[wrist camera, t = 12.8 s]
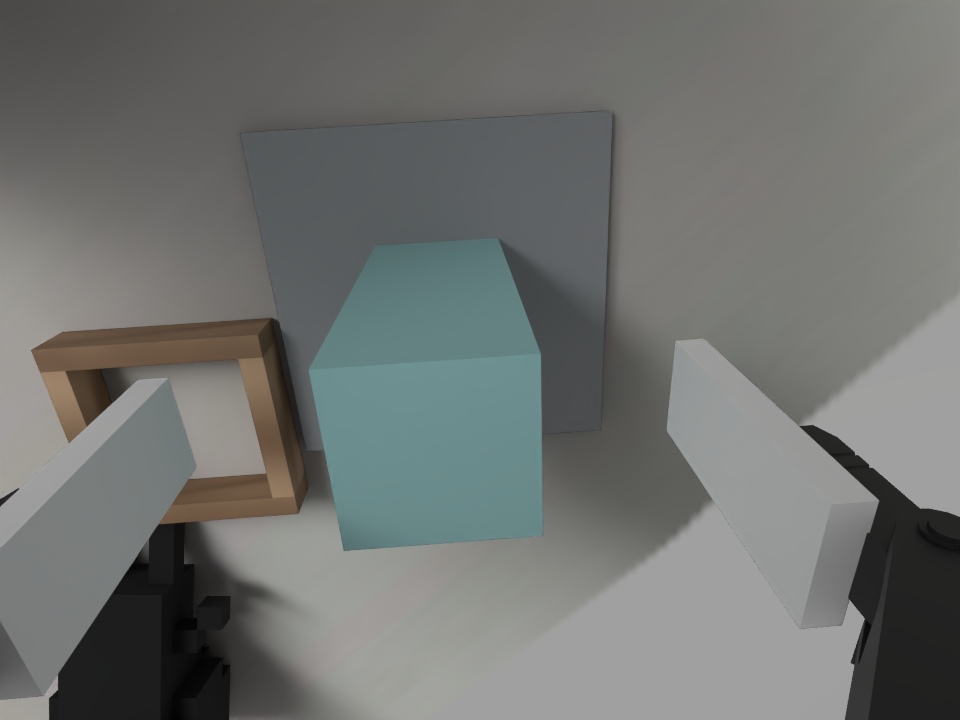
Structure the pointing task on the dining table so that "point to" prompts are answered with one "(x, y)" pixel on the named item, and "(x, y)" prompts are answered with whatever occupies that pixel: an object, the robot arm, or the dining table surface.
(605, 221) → the pad
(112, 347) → the wooden square frame
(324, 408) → the block
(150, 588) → the toy
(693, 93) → the dining table surface
